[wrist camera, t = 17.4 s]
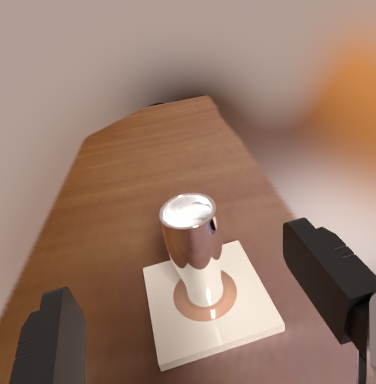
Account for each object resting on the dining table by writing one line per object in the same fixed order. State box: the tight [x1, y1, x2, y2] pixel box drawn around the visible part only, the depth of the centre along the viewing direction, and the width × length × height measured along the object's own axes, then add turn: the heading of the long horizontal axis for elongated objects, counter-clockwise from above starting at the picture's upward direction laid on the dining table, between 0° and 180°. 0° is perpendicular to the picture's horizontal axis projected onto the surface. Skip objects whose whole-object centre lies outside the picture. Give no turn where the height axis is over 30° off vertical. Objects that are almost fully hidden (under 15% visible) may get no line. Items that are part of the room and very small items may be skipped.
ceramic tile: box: [143, 240, 285, 372], centre depth 46 cm, size 16×16×2 cm
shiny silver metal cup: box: [159, 193, 227, 311], centre depth 41 cm, size 7×7×15 cm
